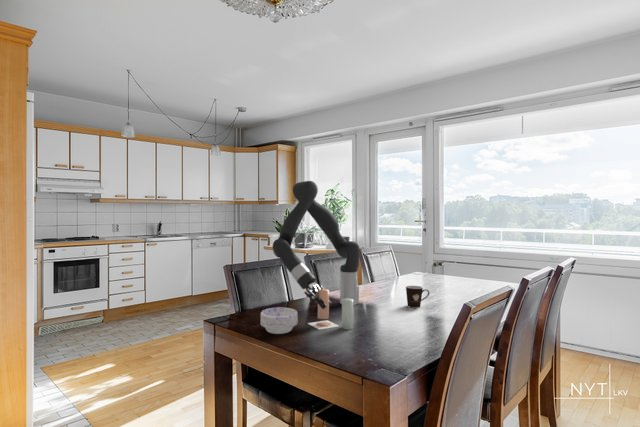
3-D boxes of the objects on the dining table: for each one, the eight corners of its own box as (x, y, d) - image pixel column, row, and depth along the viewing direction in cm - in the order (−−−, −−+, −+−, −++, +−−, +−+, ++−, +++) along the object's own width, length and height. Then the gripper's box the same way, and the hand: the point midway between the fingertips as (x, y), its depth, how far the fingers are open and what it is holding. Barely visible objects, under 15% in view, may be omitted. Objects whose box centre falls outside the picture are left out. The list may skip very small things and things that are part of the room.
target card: (327, 320, 179) (327, 319, 179) (339, 326, 170) (339, 325, 170) (307, 323, 174) (307, 322, 174) (319, 329, 165) (319, 328, 165)
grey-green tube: (348, 325, 172) (349, 297, 172) (355, 328, 168) (355, 300, 167) (339, 327, 169) (339, 298, 169) (345, 330, 165) (346, 301, 165)
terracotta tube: (325, 315, 175) (325, 288, 175) (330, 318, 171) (331, 290, 171) (315, 316, 173) (316, 289, 173) (321, 319, 168) (321, 291, 168)
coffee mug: (404, 307, 205) (404, 287, 205) (407, 303, 213) (407, 285, 213) (427, 309, 201) (427, 289, 201) (429, 305, 209) (429, 286, 209)
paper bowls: (282, 339, 153) (282, 318, 153) (252, 332, 161) (252, 312, 161) (304, 329, 166) (305, 310, 166) (276, 323, 174) (276, 305, 174)
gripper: (300, 272, 168) (326, 304, 163) (315, 268, 181) (339, 297, 176) (289, 284, 171) (314, 315, 166) (304, 279, 184) (328, 308, 179)
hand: (327, 306), depth 171 cm, fingers closed on terracotta tube, 4 cm apart
